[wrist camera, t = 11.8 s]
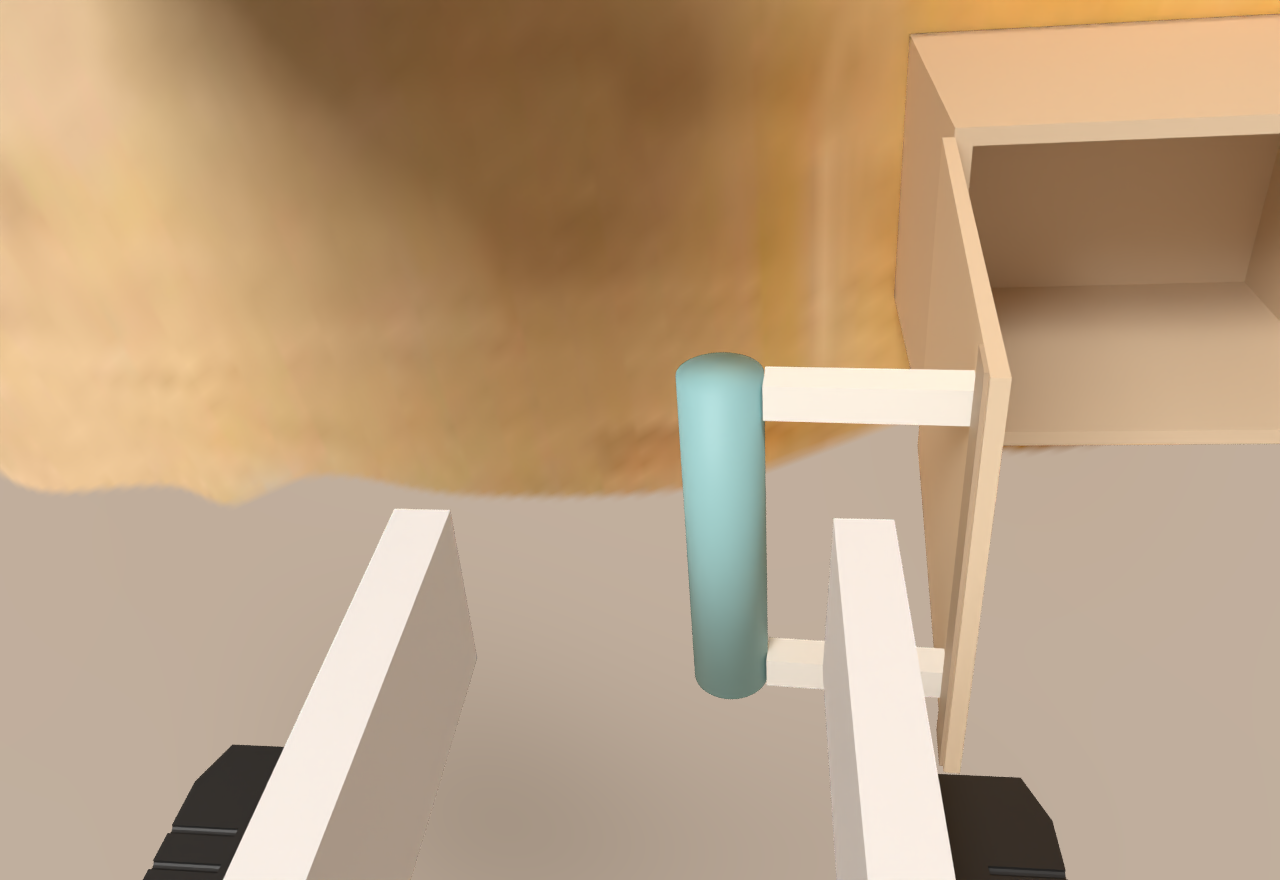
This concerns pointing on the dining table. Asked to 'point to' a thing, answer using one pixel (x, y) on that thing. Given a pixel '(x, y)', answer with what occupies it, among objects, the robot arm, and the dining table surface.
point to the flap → (931, 397)
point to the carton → (1111, 221)
